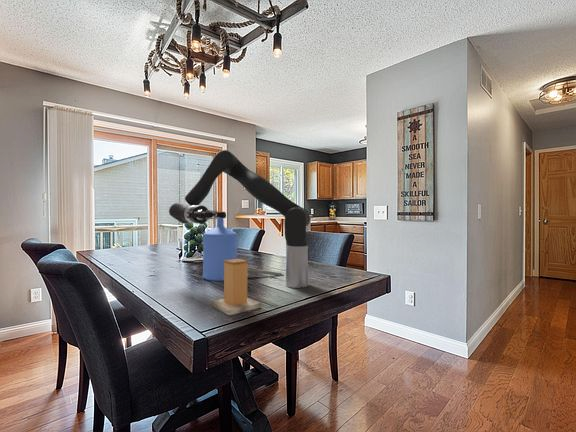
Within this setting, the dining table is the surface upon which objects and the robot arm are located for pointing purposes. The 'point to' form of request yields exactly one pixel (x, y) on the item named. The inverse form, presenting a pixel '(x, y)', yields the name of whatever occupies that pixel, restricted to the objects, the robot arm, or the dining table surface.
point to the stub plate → (235, 309)
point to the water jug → (218, 250)
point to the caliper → (261, 271)
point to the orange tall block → (235, 281)
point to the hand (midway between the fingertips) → (214, 215)
